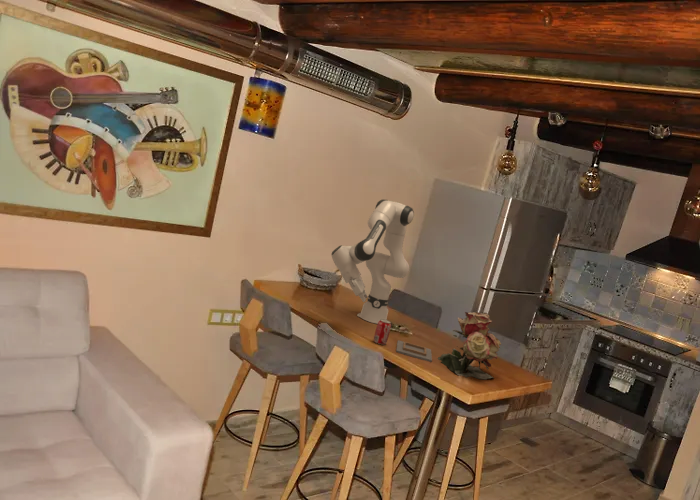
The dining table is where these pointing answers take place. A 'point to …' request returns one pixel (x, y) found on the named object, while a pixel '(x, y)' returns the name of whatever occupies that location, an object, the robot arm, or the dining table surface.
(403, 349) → the coaster board
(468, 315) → the rose bouquet
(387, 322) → the soda can
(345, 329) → the dining table surface
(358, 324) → the dining table surface
